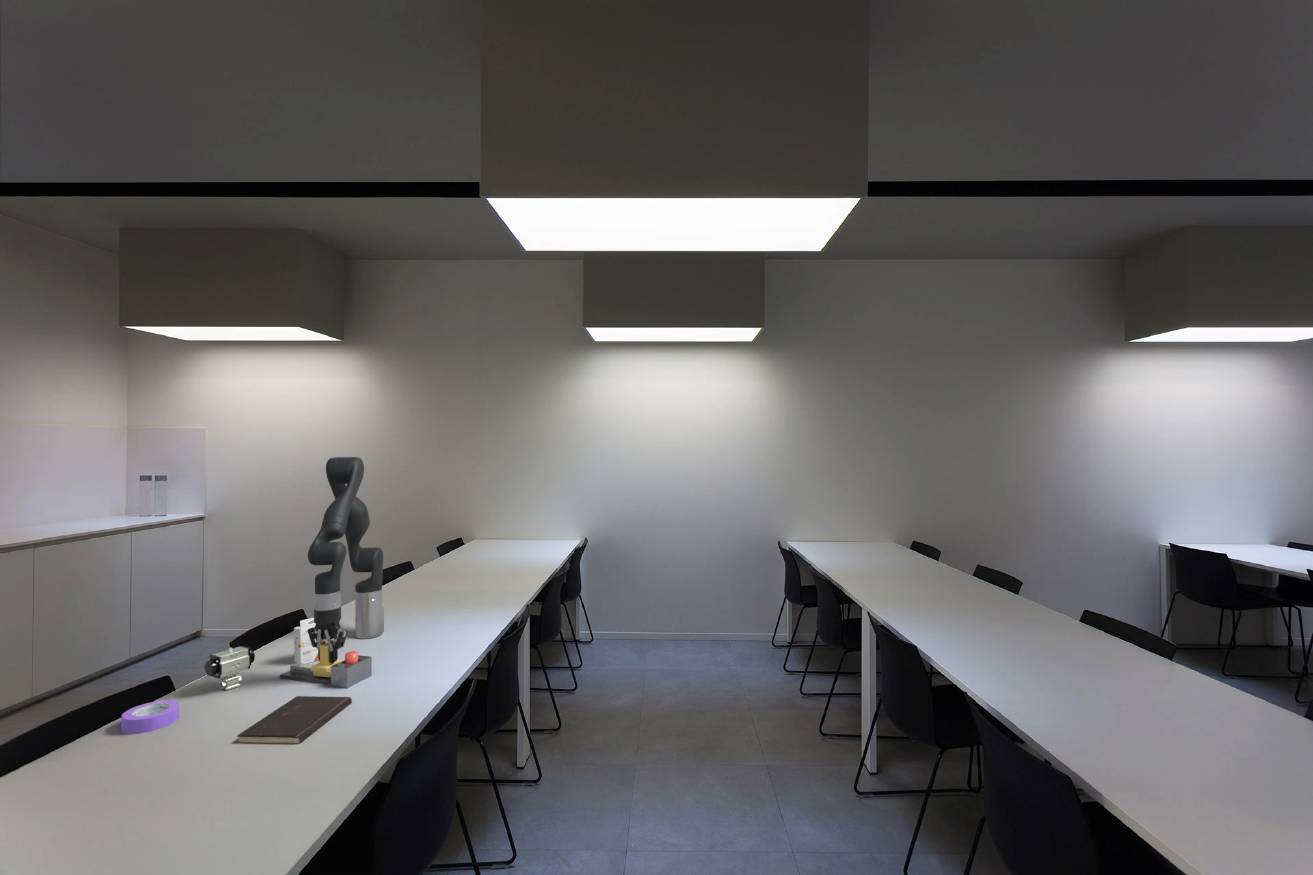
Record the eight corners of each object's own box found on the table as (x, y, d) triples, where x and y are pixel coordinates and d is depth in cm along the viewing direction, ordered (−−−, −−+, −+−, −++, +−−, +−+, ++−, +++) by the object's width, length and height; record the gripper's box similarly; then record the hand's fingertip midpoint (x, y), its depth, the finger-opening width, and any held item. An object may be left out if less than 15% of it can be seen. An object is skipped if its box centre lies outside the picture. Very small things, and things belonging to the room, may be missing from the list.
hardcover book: (236, 744, 149) (236, 735, 149) (296, 704, 172) (296, 695, 172) (300, 745, 148) (300, 736, 148) (351, 704, 171) (351, 696, 171)
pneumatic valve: (204, 693, 178) (204, 652, 178) (246, 679, 188) (246, 640, 188) (214, 697, 175) (214, 655, 175) (256, 682, 186) (256, 643, 186)
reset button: (351, 666, 189) (351, 650, 189) (360, 667, 188) (360, 651, 188) (342, 670, 185) (342, 654, 186) (352, 672, 184) (352, 655, 185)
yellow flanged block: (328, 668, 193) (328, 639, 193) (344, 670, 192) (344, 641, 192) (310, 676, 187) (310, 646, 187) (326, 678, 185) (326, 648, 185)
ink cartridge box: (320, 655, 210) (320, 612, 210) (327, 658, 207) (326, 614, 207) (293, 662, 203) (293, 618, 203) (300, 665, 200) (299, 620, 200)
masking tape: (186, 710, 167) (186, 697, 167) (169, 729, 156) (169, 714, 156) (133, 718, 163) (133, 703, 163) (112, 738, 152) (112, 722, 152)
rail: (301, 668, 197) (301, 659, 197) (349, 674, 192) (349, 664, 192) (280, 677, 189) (279, 668, 189) (329, 684, 184) (329, 674, 184)
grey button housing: (355, 673, 192) (355, 654, 192) (371, 675, 191) (371, 656, 191) (330, 686, 183) (330, 666, 183) (347, 688, 181) (347, 668, 181)
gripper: (355, 604, 191) (355, 659, 191) (319, 601, 195) (319, 655, 195) (336, 611, 184) (336, 668, 184) (299, 607, 188) (299, 663, 188)
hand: (327, 661), depth 189 cm, fingers open, 3 cm apart
